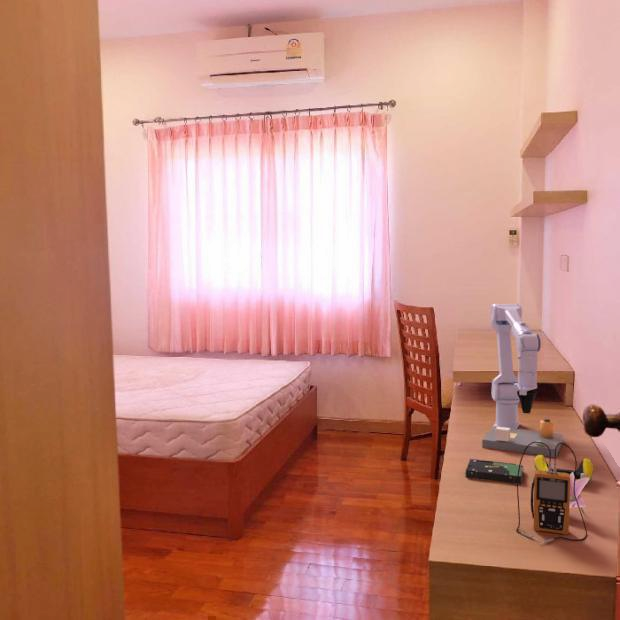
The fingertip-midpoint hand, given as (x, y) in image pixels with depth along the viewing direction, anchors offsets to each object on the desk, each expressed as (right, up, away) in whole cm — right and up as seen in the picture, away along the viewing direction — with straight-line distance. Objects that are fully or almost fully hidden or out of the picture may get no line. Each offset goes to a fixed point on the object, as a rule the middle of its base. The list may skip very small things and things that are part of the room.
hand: (526, 412), depth 197 cm
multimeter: (-18, -16, -65) cm, 69 cm away
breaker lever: (-9, -8, -3) cm, 13 cm away
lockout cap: (+7, -8, +1) cm, 10 cm away
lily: (-9, -15, -53) cm, 56 cm away
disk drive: (-18, -14, -26) cm, 35 cm away
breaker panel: (-1, -10, +1) cm, 10 cm away
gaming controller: (-1, -13, -31) cm, 34 cm away
